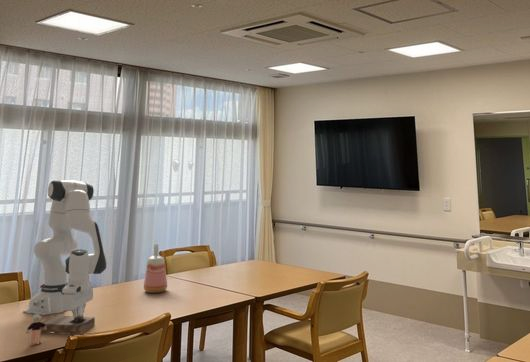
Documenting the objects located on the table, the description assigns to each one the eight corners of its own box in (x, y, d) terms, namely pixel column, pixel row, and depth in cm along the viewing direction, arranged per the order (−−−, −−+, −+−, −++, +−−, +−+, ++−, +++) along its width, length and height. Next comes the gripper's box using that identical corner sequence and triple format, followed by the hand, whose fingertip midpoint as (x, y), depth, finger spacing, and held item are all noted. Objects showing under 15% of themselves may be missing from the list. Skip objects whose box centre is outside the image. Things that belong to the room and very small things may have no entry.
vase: (145, 288, 270) (146, 242, 270) (168, 288, 272) (169, 242, 272) (141, 294, 256) (142, 246, 256) (165, 294, 257) (166, 246, 258)
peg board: (39, 332, 190) (39, 323, 190) (55, 323, 202) (55, 315, 202) (80, 334, 188) (80, 325, 188) (94, 325, 200) (94, 317, 200)
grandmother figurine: (28, 347, 172) (28, 317, 172) (24, 345, 175) (25, 315, 175) (47, 342, 178) (48, 313, 178) (44, 340, 181) (44, 311, 181)
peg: (72, 324, 193) (72, 302, 193) (77, 321, 197) (77, 299, 197) (80, 324, 192) (80, 302, 192) (85, 321, 196) (85, 300, 196)
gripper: (84, 279, 205) (84, 308, 205) (59, 290, 185) (59, 321, 185) (96, 280, 205) (96, 308, 205) (73, 290, 184) (72, 322, 184)
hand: (78, 315), depth 195 cm, fingers closed on peg, 4 cm apart
